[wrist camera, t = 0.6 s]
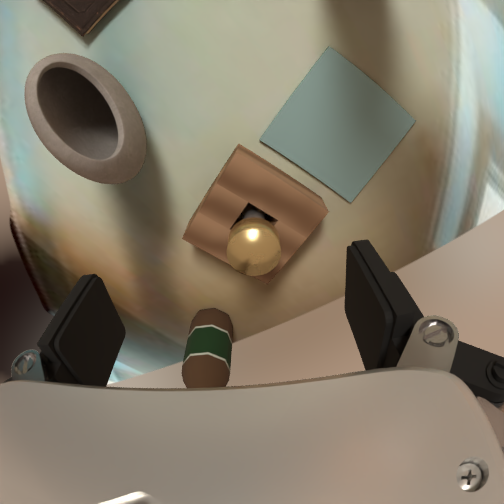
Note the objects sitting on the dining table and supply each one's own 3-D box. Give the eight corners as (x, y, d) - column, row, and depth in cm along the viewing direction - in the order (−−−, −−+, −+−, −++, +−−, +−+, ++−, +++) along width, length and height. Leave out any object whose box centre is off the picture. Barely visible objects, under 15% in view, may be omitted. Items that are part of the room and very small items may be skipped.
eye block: (238, 143, 39) (236, 152, 35) (321, 197, 43) (328, 211, 39) (188, 222, 45) (182, 238, 41) (266, 265, 49) (267, 284, 45)
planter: (178, 141, 39) (127, 189, 23) (139, 168, 41) (76, 230, 25) (109, 41, 31) (23, 31, 15) (74, 73, 32) (-17, 86, 16)
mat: (328, 46, 32) (329, 46, 31) (414, 120, 36) (415, 121, 36) (259, 139, 39) (259, 139, 39) (349, 201, 43) (350, 202, 43)
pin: (247, 182, 42) (245, 219, 32) (282, 204, 44) (291, 247, 34) (225, 214, 45) (216, 260, 35) (259, 234, 46) (261, 283, 36)
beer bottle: (183, 317, 56) (158, 432, 35) (215, 300, 53) (199, 424, 33) (210, 340, 59) (196, 451, 39) (241, 326, 57) (237, 444, 36)
